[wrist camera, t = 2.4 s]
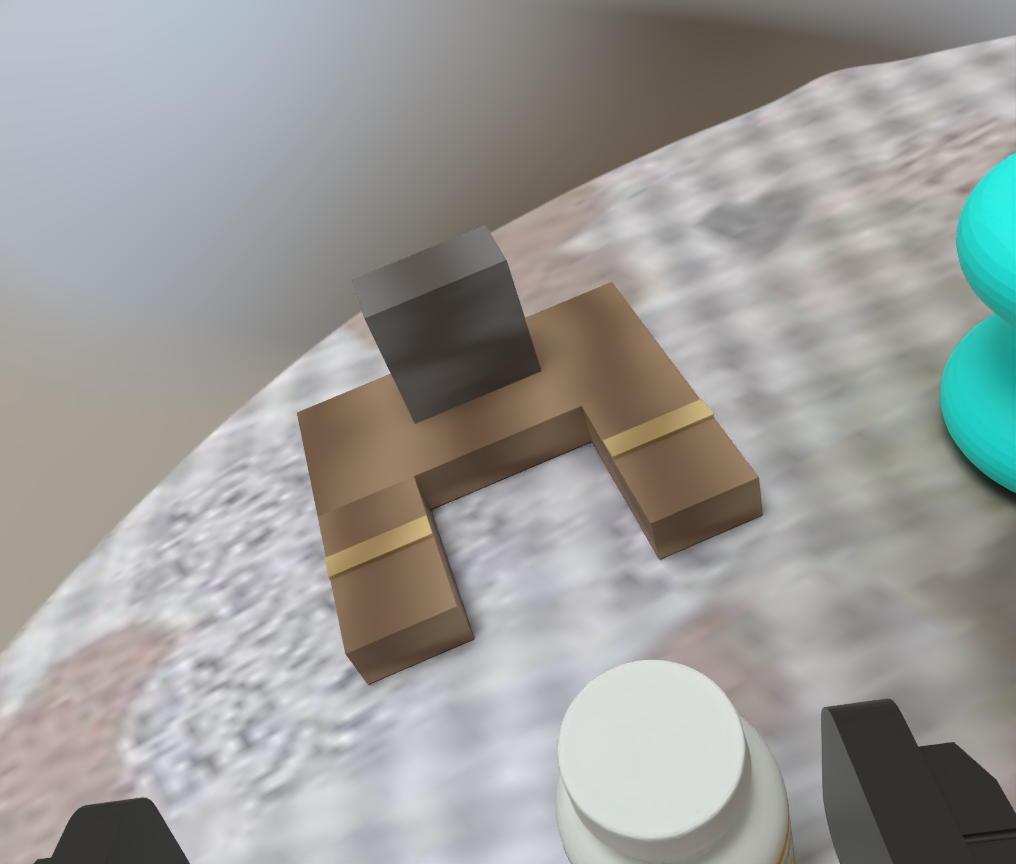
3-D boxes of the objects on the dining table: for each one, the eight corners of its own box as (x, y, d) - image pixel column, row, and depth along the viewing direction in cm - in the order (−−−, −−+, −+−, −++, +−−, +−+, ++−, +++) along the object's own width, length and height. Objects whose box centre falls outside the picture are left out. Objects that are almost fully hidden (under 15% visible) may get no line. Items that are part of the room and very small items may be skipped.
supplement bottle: (840, 943, 24) (840, 799, 17) (661, 1042, 23) (589, 933, 17) (731, 767, 28) (696, 594, 21) (576, 849, 27) (490, 698, 21)
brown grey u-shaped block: (619, 317, 44) (586, 170, 38) (762, 514, 34) (746, 353, 28) (316, 444, 43) (237, 313, 38) (368, 684, 33) (270, 553, 27)
